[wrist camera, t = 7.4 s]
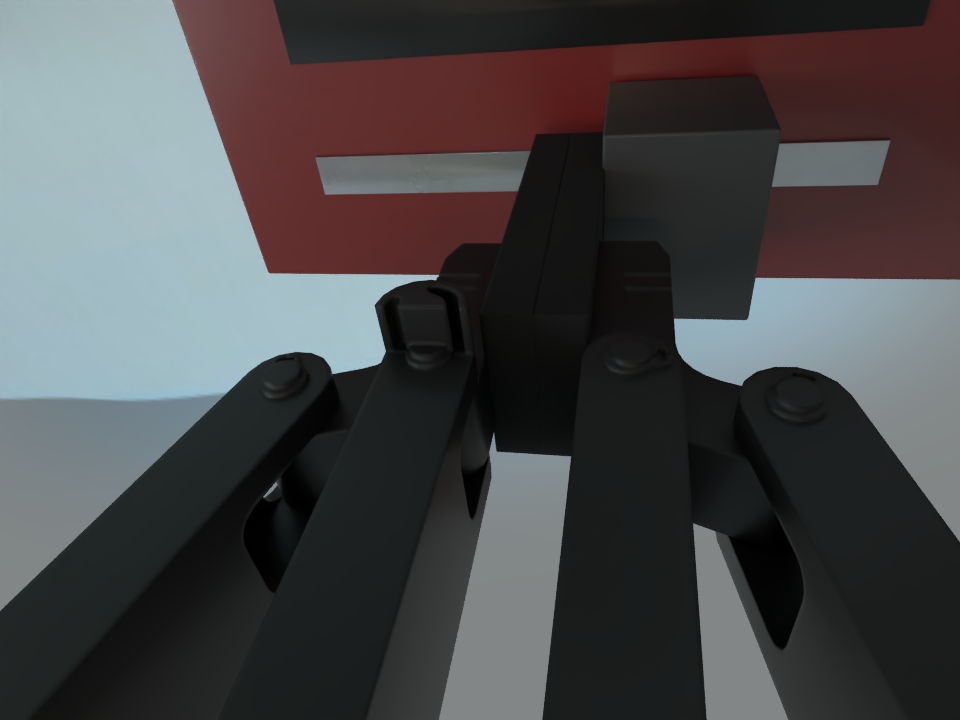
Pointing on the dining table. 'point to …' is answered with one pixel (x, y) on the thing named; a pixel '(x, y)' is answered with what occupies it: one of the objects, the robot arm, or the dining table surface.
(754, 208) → the toaster slider
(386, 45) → the toaster
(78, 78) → the dining table surface
